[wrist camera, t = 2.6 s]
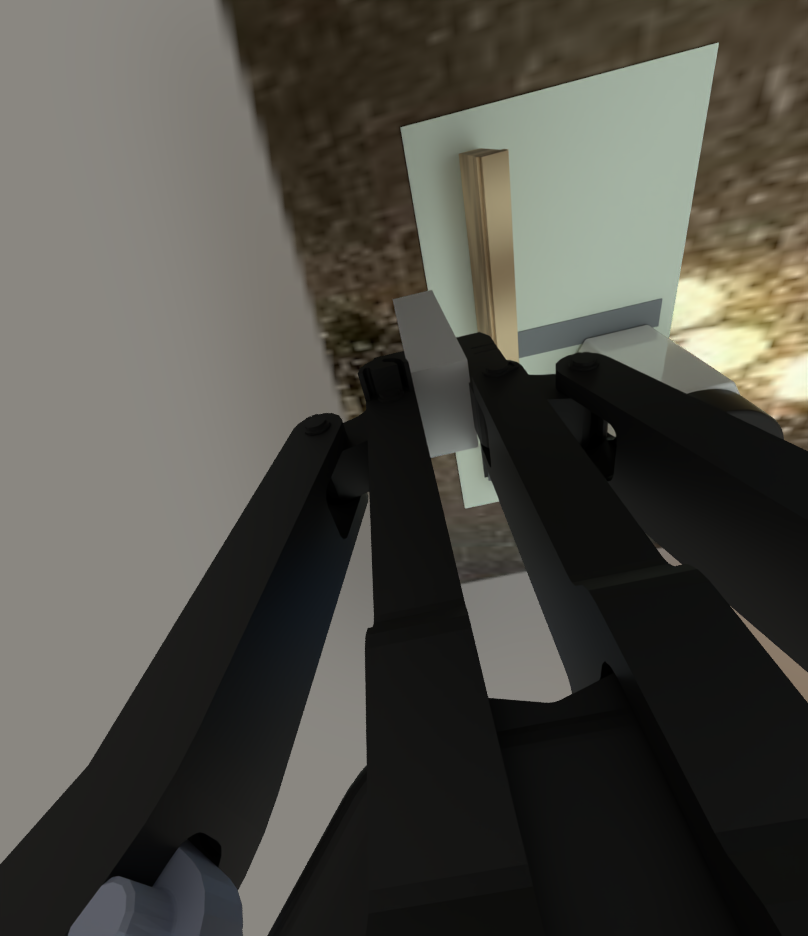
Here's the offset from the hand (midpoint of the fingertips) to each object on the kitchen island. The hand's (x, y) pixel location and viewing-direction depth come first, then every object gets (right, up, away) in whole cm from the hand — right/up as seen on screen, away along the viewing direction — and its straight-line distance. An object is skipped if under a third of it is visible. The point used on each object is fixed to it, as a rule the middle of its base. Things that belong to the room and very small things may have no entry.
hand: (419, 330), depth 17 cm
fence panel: (+4, +8, +11) cm, 14 cm away
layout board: (+10, +4, +15) cm, 19 cm away
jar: (+16, +2, +17) cm, 23 cm away
